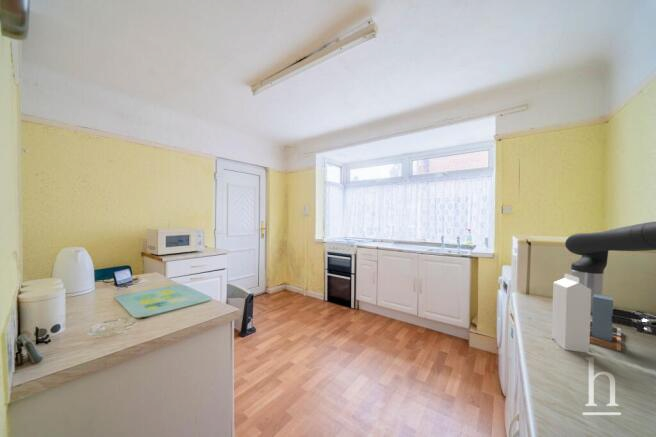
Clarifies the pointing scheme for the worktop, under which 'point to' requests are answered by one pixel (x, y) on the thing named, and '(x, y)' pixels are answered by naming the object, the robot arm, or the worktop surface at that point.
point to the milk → (571, 314)
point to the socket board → (616, 340)
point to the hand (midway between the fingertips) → (612, 315)
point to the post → (602, 317)
